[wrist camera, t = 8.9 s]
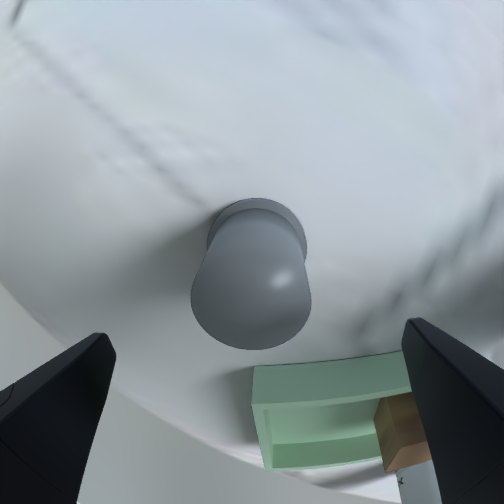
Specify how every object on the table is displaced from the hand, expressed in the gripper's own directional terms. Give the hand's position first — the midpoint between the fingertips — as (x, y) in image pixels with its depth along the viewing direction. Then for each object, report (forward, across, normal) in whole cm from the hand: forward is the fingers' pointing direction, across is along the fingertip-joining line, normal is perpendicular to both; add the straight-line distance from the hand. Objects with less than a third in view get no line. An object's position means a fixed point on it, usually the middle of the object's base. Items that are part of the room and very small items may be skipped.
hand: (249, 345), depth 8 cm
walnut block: (+6, -9, +13) cm, 17 cm away
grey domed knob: (+7, 0, 0) cm, 7 cm away
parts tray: (+7, -6, +13) cm, 16 cm away
